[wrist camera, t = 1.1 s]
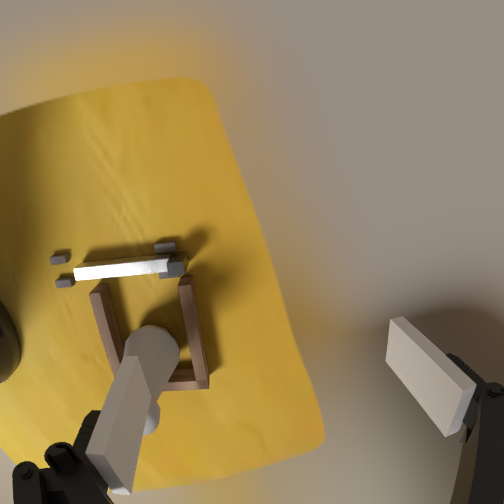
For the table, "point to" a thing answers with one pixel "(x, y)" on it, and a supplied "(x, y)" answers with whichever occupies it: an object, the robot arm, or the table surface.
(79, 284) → the table surface
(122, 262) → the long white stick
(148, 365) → the salt shaker
